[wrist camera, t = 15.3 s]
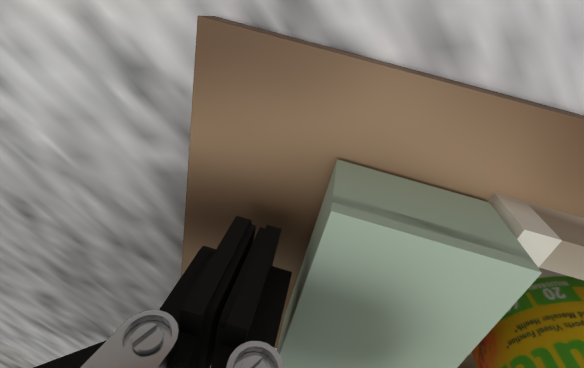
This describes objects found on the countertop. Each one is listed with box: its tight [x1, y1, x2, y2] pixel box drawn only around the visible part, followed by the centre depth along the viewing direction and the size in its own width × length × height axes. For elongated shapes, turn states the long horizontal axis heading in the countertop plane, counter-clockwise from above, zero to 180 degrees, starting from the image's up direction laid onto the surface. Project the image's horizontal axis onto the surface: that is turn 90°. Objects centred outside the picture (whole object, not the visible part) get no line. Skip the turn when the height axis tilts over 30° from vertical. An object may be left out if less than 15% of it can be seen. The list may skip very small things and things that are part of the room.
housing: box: [277, 159, 542, 368], centre depth 10 cm, size 8×5×3 cm, turn 166°
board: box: [181, 16, 584, 368], centre depth 12 cm, size 14×19×3 cm
